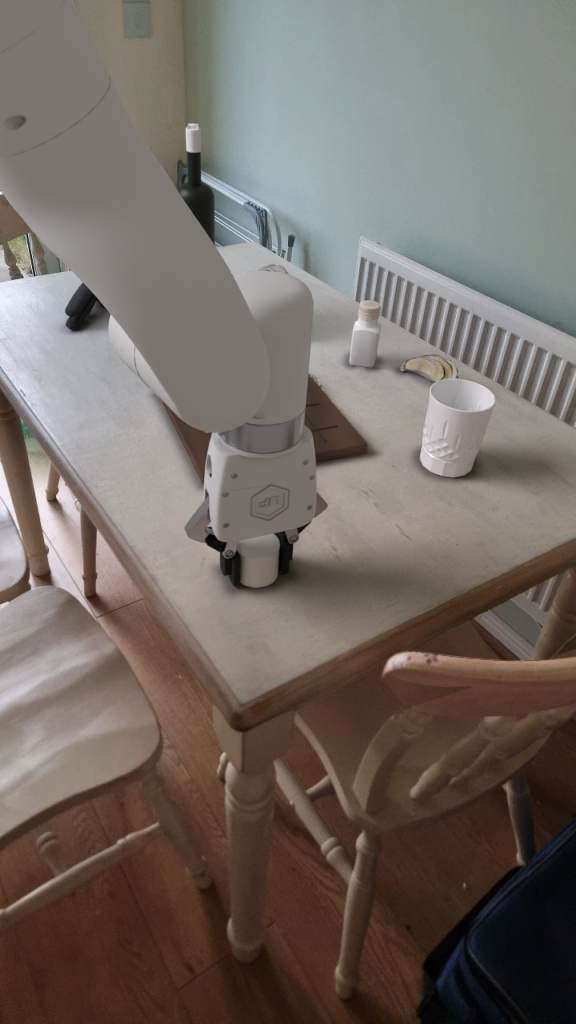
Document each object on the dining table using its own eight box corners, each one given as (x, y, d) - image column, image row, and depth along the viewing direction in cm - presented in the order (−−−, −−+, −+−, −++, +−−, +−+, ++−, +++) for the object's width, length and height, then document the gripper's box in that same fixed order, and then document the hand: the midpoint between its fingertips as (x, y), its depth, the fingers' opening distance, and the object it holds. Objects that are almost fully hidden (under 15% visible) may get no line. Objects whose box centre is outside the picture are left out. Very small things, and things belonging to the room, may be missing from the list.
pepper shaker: (373, 369, 108) (382, 311, 102) (348, 366, 108) (355, 307, 102) (376, 358, 111) (384, 301, 105) (351, 354, 111) (358, 297, 105)
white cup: (439, 438, 94) (454, 372, 87) (488, 464, 90) (508, 397, 83) (402, 460, 89) (416, 391, 83) (453, 488, 85) (471, 419, 79)
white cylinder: (242, 592, 70) (242, 563, 67) (228, 562, 73) (228, 533, 70) (284, 581, 71) (286, 553, 69) (269, 552, 74) (270, 524, 72)
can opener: (94, 288, 126) (90, 258, 123) (130, 294, 125) (127, 262, 122) (49, 329, 113) (43, 295, 109) (89, 335, 112) (85, 301, 108)
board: (202, 484, 83) (202, 473, 82) (158, 395, 98) (157, 385, 97) (366, 453, 90) (367, 442, 89) (300, 374, 105) (301, 364, 104)
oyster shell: (410, 402, 109) (467, 390, 102) (396, 395, 107) (453, 382, 100) (412, 366, 110) (468, 352, 103) (398, 358, 108) (455, 343, 101)
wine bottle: (200, 314, 120) (195, 118, 101) (222, 325, 117) (221, 126, 98) (174, 323, 117) (164, 122, 98) (196, 334, 114) (190, 130, 95)
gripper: (177, 461, 55) (186, 616, 67) (367, 427, 60) (345, 576, 72) (155, 413, 60) (167, 565, 72) (331, 386, 66) (316, 531, 77)
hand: (256, 569), depth 72 cm, fingers closed on white cylinder, 4 cm apart
